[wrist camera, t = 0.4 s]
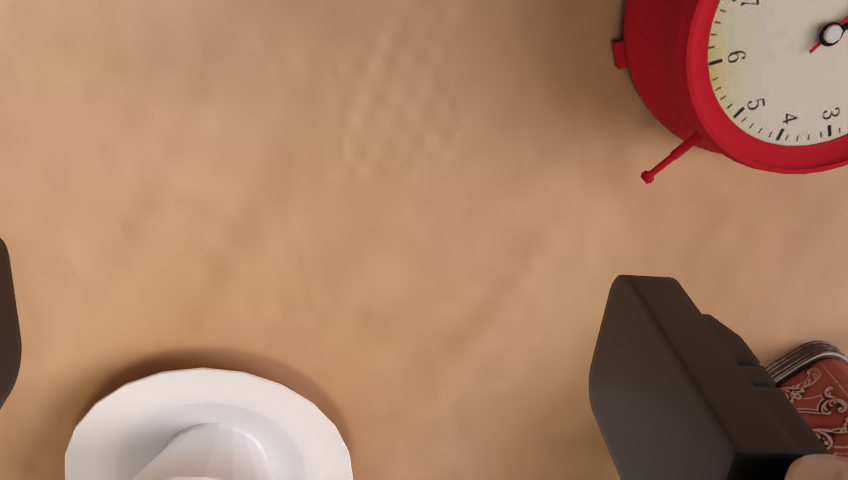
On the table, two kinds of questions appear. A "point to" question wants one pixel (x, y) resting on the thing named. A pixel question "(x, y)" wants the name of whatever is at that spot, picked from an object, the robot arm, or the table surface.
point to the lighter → (817, 391)
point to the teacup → (206, 432)
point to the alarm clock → (744, 78)
